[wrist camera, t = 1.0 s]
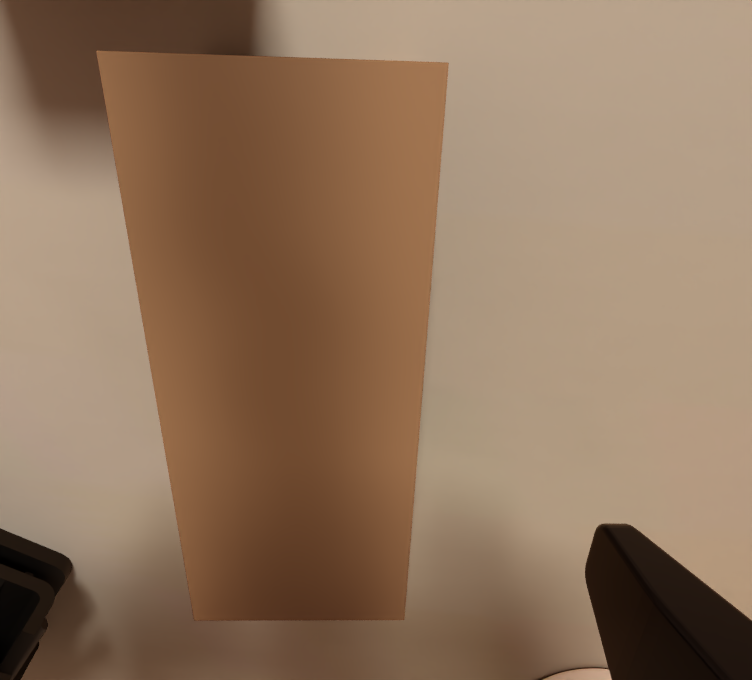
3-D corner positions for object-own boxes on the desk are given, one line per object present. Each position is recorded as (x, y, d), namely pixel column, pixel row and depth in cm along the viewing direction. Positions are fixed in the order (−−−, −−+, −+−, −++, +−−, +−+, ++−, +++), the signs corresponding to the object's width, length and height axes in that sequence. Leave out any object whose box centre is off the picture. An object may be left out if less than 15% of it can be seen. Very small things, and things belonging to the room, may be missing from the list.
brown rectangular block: (412, 63, 13) (448, 62, 8) (391, 460, 19) (404, 620, 13) (203, 55, 13) (95, 50, 8) (241, 459, 19) (194, 620, 13)
